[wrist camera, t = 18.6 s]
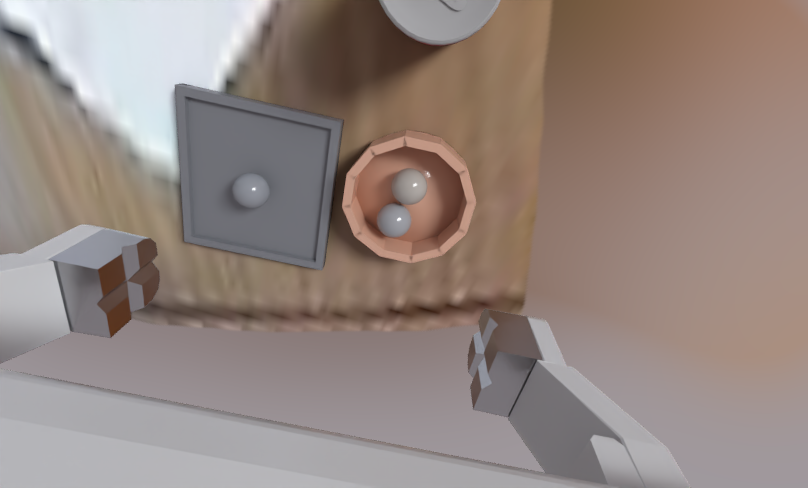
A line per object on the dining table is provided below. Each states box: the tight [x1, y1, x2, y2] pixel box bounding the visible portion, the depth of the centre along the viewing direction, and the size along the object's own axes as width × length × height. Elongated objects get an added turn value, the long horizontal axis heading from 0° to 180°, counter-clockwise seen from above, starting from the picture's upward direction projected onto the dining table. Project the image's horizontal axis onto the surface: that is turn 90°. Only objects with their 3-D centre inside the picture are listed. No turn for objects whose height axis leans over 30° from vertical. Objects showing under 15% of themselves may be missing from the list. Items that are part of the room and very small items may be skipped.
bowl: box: [342, 130, 476, 263], centre depth 37 cm, size 12×12×4 cm
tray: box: [175, 84, 344, 270], centre depth 39 cm, size 15×16×1 cm
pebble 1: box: [232, 173, 270, 208], centre depth 37 cm, size 3×3×3 cm
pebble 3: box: [377, 203, 411, 238], centre depth 38 cm, size 3×3×3 cm
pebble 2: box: [391, 168, 427, 205], centre depth 36 cm, size 3×3×3 cm
